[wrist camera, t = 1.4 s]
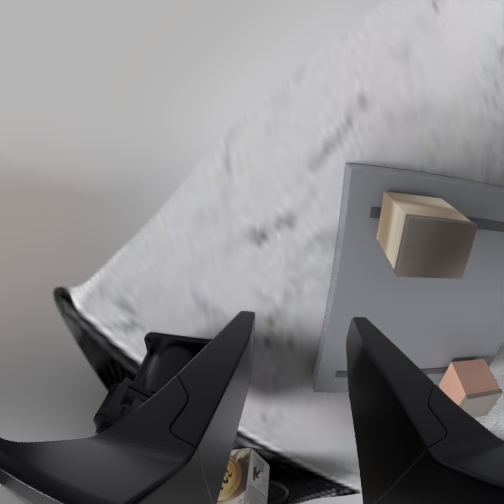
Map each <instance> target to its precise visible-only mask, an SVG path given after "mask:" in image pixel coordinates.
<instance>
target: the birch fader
mask: <svg viewBox="0 0 504 504" xmlns="http://www.w3.org/2000/svg"><path fill="white" fill-rule="evenodd" d="M477 226H478V225H477V224H475V223H474V222H472V221H470V220H469V219H467V218H466V217H465V216H464V215H462V214H461V213H460V212H459V211H457V210H456V209H455V208H453V207H452V206H451V205H450V204H448V203H447V202H446V201H444V200H443V199H442V198H434V197H427V196H419V195H411V194H403V193H394V192H385V191H384V194H383V201H382V208H381V214H380V220H379V226H378V232H377V237H376V239H377V240H378V242H379V244H380V245H381V247H382V249H383V251H384V252H385V254H386V256H387V258H388V259H389V261H390V263H391V265H392V267H393V268H394V273H395V275H396V276H398V277H421V278H446V279H462V277H463V274H464V271H465V268H466V265H467V262H468V259H469V255H470V252H471V248H472V245H473V241H474V238H475V234H476V230H477Z"/></svg>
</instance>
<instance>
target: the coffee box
mask: <svg viewBox="0 0 504 504" xmlns="http://www.w3.org/2000/svg"><path fill="white" fill-rule="evenodd" d="M269 469H270V466H269V464H267V463H266V462H265V461H264V460H263V459H262V458H261V457H260V456H259V455H258V454H257V453H256V452H255V451H254V450H253V449H252V448H243V449H235V450H232V451H231V455H230V459H229V462H228V466H227V469H226V473H225V476H224V480H223V484H222V487H221V491H220V494H219V497H218V501H217V504H267V493H268V481H269Z"/></svg>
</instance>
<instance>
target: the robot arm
mask: <svg viewBox="0 0 504 504" xmlns="http://www.w3.org/2000/svg"><path fill="white" fill-rule="evenodd" d="M254 337H255V313H254V312H251V311H241V312H239V313H238V314H237V315H236V317H235V318H234V319H233V320H232V321H231V322H230V323H229V324H228V325H227V326H226V327H225V328H224V329H223V330H222V331H221V332H220V333H219V334H218V335H217V336H216V337H215V338H214V339H213V340H212V341H207V340H198V339H189V338H181V337H173V336H165V335H158V334H151V333H148V334H146V336H145V338H144V340H145V344H146V348H147V354H146V356H145V358H144V360H143V362H142V364H141V366H140V368H139V370H138V372H137V374H136V376H135V379H134V381H133V382H131V380H129V379H128V378H126V377H125V379H124V381H123V383H122V384H120V383H119V384H112V386H111V388H110V390H109V392H108V394H107V396H106V398H105V400H104V401H103V403H102V405H101V406H100V408H99V410H98V411H97V413H96V415H95V417H94V419H93V422H94V424H95V427H96V429H97V430H96V433H95V434H97V435H95V436H92V437H89V438H83V439H74V440H61V441H46V442H14V441H9V440H5V439H2V438H0V484H2V485H1V487H0V504H217V501H218V497H219V494H220V491H221V487H222V484H223V480H224V476H225V473H226V469H227V466H228V462H229V459H230V455H231V451H232V448H233V444H234V440H235V437H236V433H237V429H238V426H239V422H240V418H241V414H242V410H243V407H244V403H245V399H246V395H247V391H248V387H249V382H250V375H251V366H252V357H253V347H254ZM149 338H150V339H149ZM346 355H347V376H348V391H349V398H350V404H351V411H352V417H353V424H354V431H355V438H356V445H357V453H358V461H359V469H360V478H361V487H362V495H363V504H504V440H502V439H500V438H498V437H497V436H495V435H494V434H493V433H491V432H490V431H489V430H488V429H486V428H485V427H484V426H483V425H481V424H480V423H479V422H478V421H477V420H475V419H474V418H473V417H472V416H470V415H469V414H468V413H467V412H466V411H464V410H463V409H462V408H461V407H460V406H458V405H457V404H456V403H455V402H454V401H453V400H452V399H451V398H450V397H448V396H447V395H446V394H445V393H444V392H443V391H442V390H441V389H440V388H439V387H438V386H437V385H436V384H434V382H433V381H432V380H431V379H430V378H429V377H428V376H427V375H426V374H425V373H424V372H423V371H422V370H421V369H420V368H419V367H417V366H416V365H415V364H414V363H413V362H412V361H411V360H410V359H409V358H408V357H407V356H406V355H405V354H404V353H403V352H402V351H401V350H400V349H399V348H398V347H397V346H396V345H395V344H394V343H393V342H391V341H390V340H389V339H388V338H387V337H386V336H385V335H384V334H383V333H382V332H381V331H380V330H379V329H378V328H377V327H376V326H375V325H374V324H372V323H371V322H370V321H369V320H368V319H367V318H366V317H353V318H352V319H351V322H350V326H349V330H348V334H347V338H346Z"/></svg>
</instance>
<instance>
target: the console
mask: <svg viewBox="0 0 504 504" xmlns="http://www.w3.org/2000/svg"><path fill="white" fill-rule="evenodd" d="M384 191H385V192H394V193H403V194H411V195H419V196H427V197H434V198H442V199H443V200H444V201H446V202H447V203H448V204H450V205H451V206H452V207H453V208H455V209H456V210H457V211H459V212H460V213H461V214H462V215H464V216H465V217H466V218H467V219H469V220H470V221H472V222H474V223H475V224H477V225H478V226H477V230H476V234H475V238H474V241H473V245H472V248H471V252H470V255H469V259H468V262H467V265H466V268H465V271H464V274H463V277H462V279H446V278H421V277H398V276H396V275H395V273H394V268H393V267H392V265H391V263H390V261H389V259H388V258H387V256H386V254H385V252H384V251H383V249H382V247H381V245H380V244H379V242H378V240H377V239H376V237H377V232H378V226H379V220H380V214H381V208H382V201H383V194H384ZM353 317H366V318H367V319H368V320H369V321H370V322H371V323H372V324H374V325H375V326H376V327H377V328H378V329H379V330H380V331H381V332H382V333H383V334H384V335H385V336H386V337H387V338H388V339H389V340H390V341H391V342H393V343H394V344H395V345H396V346H397V347H398V348H399V349H400V350H401V351H402V352H403V353H404V354H405V355H406V356H407V357H408V358H409V359H410V360H411V361H412V362H413V363H414V364H415V365H416V366H417V367H419V368H420V369H421V370H422V371H423V372H424V373H425V374H426V375H427V376H428V377H429V378H430V379H431V380H432V381H433V382H434V384H436V385H437V386H438V387H440V386H439V384H440V382H441V380H442V378H443V377H444V375H445V373H446V371H447V369H448V367H449V365H450V363H451V362H457V361H468V360H477V359H484V360H485V362H486V363H487V365H488V367H489V366H490V364H491V362H492V360H493V359H494V357H495V355H496V353H497V351H498V350H499V348H500V346H501V344H502V342H503V340H504V188H503V187H499V186H494V185H489V184H484V183H480V182H475V181H469V180H464V179H459V178H453V177H447V176H442V175H436V174H429V173H423V172H416V171H409V170H402V169H395V168H387V167H379V166H370V165H361V164H351V163H345V174H344V184H343V193H342V202H341V211H340V219H339V227H338V235H337V242H336V249H335V256H334V263H333V270H332V276H331V282H330V288H329V294H328V300H327V306H326V312H325V317H324V323H323V328H322V333H321V339H320V344H319V349H318V354H317V358H316V363H315V368H314V373H313V389H314V392H349V391H348V376H347V355H346V338H347V334H348V330H349V326H350V322H351V319H352V318H353Z"/></svg>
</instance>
